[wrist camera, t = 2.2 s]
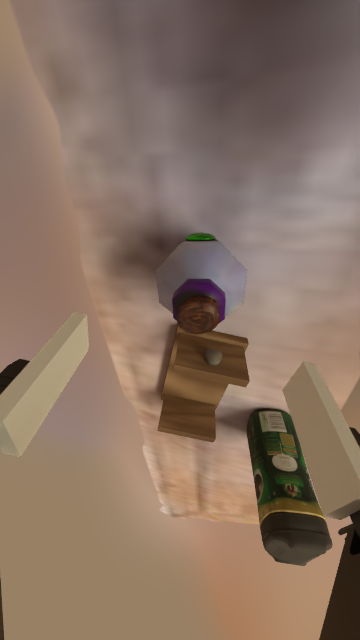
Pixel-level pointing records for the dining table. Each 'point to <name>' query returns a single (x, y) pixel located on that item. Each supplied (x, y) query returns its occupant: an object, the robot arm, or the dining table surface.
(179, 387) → the holder
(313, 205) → the dining table surface
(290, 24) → the dining table surface
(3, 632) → the robot arm
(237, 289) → the potion bottle
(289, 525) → the coffee jar
